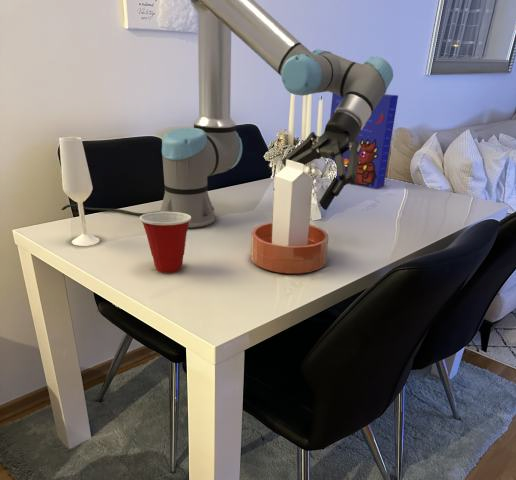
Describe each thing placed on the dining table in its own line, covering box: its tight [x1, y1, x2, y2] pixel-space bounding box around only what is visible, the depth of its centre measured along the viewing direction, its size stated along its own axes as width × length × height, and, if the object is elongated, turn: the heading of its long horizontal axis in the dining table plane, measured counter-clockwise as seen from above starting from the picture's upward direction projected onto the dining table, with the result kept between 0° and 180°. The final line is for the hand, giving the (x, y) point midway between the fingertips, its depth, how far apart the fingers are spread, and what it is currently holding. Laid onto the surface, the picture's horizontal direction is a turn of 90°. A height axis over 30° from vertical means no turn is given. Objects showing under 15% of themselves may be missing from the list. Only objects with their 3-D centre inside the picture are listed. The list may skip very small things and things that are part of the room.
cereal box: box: [329, 93, 399, 190], centre depth 180 cm, size 22×6×30 cm, turn 52°
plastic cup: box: [139, 211, 191, 274], centre depth 110 cm, size 11×11×12 cm
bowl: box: [250, 221, 330, 275], centre depth 118 cm, size 18×18×6 cm
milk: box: [272, 159, 314, 246], centre depth 113 cm, size 6×6×22 cm
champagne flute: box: [58, 136, 100, 247], centre depth 119 cm, size 7×7×24 cm
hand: (298, 199), depth 113 cm, fingers open, 13 cm apart
